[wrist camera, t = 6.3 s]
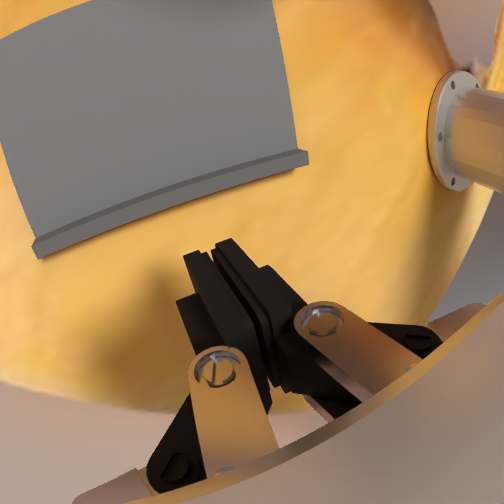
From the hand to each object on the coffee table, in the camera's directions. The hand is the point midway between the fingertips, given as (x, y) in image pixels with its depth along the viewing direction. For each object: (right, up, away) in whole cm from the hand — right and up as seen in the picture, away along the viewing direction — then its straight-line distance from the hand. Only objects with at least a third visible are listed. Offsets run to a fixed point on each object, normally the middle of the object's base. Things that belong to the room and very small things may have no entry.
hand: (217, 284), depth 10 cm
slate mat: (-4, +9, +3) cm, 10 cm away
